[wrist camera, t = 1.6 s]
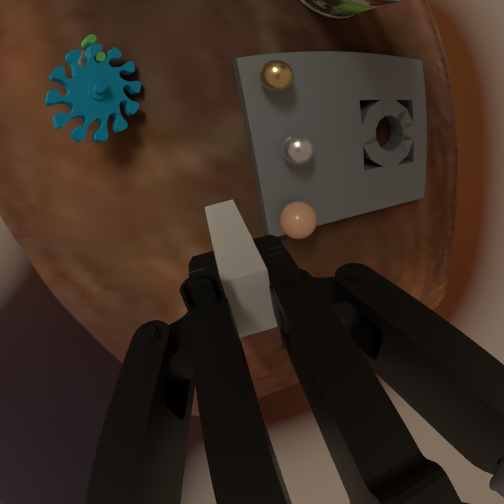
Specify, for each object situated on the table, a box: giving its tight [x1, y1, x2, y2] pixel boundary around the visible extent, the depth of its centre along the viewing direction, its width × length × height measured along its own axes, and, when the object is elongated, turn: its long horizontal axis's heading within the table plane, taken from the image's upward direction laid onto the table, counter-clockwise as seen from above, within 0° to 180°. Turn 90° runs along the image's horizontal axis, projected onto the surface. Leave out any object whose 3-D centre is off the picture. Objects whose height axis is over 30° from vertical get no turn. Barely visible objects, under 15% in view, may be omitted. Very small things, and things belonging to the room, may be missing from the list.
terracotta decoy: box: [279, 201, 317, 239], centre depth 29 cm, size 4×4×4 cm
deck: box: [232, 51, 427, 237], centre depth 29 cm, size 24×20×2 cm
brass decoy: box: [259, 60, 294, 92], centre depth 21 cm, size 3×3×3 cm
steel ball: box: [282, 133, 314, 165], centre depth 26 cm, size 3×3×3 cm
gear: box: [45, 34, 141, 142], centre depth 19 cm, size 11×6×10 cm
